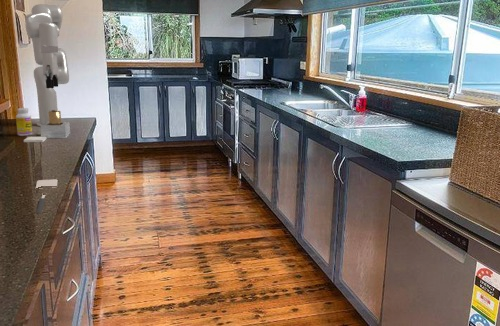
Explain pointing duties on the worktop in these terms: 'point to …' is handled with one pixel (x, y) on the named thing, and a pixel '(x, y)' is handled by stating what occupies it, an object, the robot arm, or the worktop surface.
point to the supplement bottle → (23, 122)
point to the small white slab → (41, 201)
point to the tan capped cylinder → (54, 117)
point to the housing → (55, 130)
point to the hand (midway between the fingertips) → (52, 87)
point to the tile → (35, 139)
